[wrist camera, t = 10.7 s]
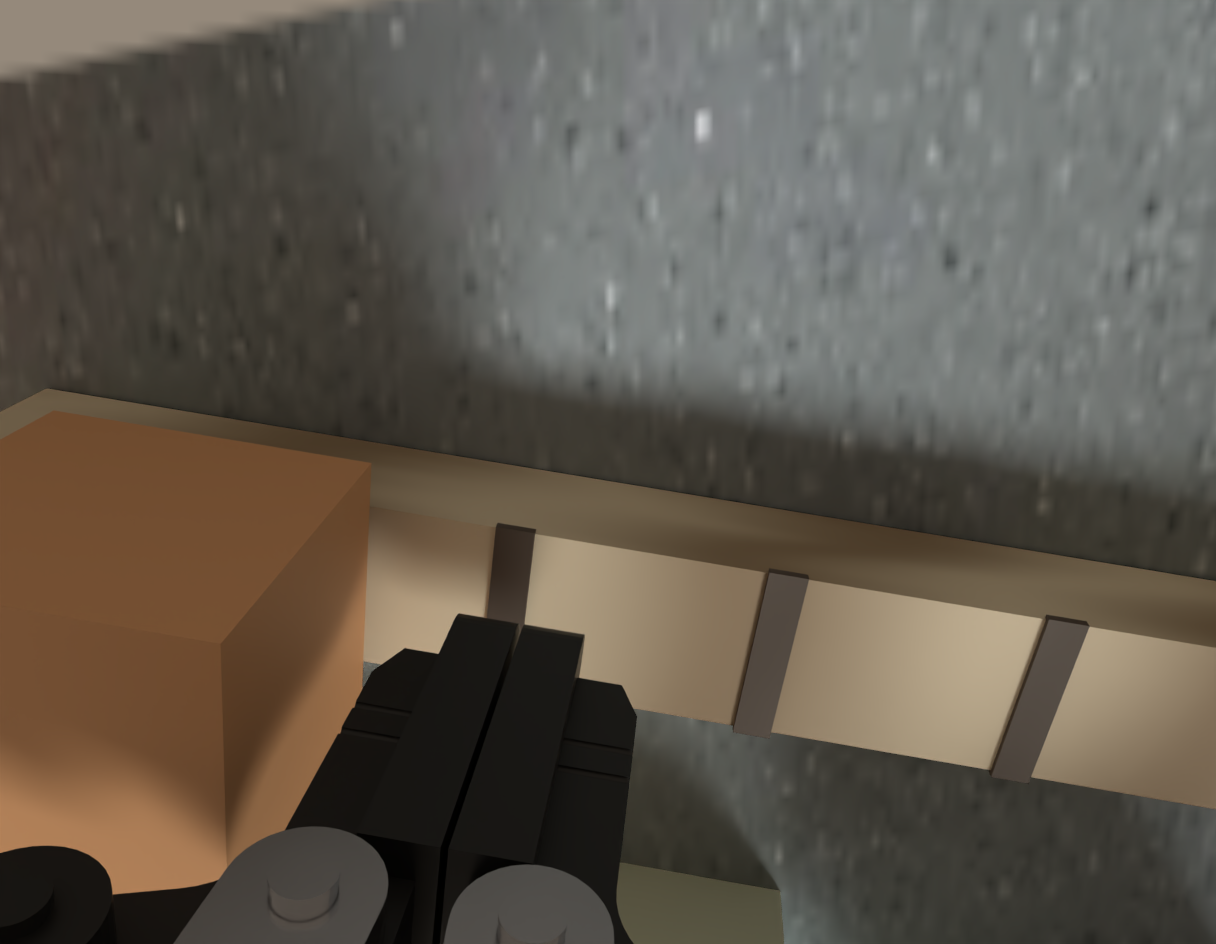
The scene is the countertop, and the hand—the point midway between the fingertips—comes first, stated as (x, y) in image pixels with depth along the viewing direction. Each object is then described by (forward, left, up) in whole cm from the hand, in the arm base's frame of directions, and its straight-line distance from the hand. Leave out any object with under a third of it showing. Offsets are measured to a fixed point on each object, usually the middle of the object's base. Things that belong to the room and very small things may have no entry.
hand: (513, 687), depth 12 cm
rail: (-3, 0, -4) cm, 5 cm away
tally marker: (+4, 0, -1) cm, 4 cm away
